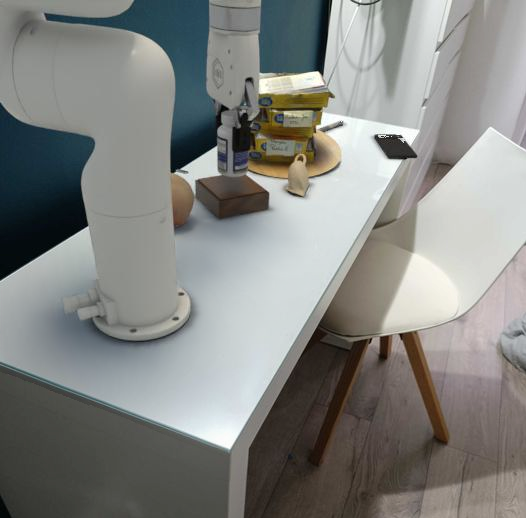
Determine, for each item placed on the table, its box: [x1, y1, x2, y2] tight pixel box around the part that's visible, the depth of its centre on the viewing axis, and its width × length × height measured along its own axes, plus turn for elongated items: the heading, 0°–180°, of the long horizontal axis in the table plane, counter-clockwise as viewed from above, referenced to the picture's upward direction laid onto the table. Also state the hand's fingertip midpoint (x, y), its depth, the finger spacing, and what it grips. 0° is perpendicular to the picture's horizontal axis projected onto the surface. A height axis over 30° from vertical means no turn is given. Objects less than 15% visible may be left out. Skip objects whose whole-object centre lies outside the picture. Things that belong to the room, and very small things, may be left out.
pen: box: [317, 120, 344, 133], centre depth 129 cm, size 1×14×1 cm
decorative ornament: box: [285, 154, 310, 197], centre depth 98 cm, size 4×8×5 cm, turn 164°
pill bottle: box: [216, 109, 249, 177], centre depth 86 cm, size 5×5×10 cm
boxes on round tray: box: [241, 71, 342, 179], centre depth 107 cm, size 25×25×17 cm
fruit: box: [171, 172, 195, 228], centre depth 83 cm, size 8×8×8 cm
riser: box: [194, 173, 270, 220], centre depth 91 cm, size 10×10×4 cm
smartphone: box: [373, 133, 418, 159], centre depth 121 cm, size 7×1×15 cm
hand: (232, 143), depth 85 cm, fingers closed on pill bottle, 5 cm apart
